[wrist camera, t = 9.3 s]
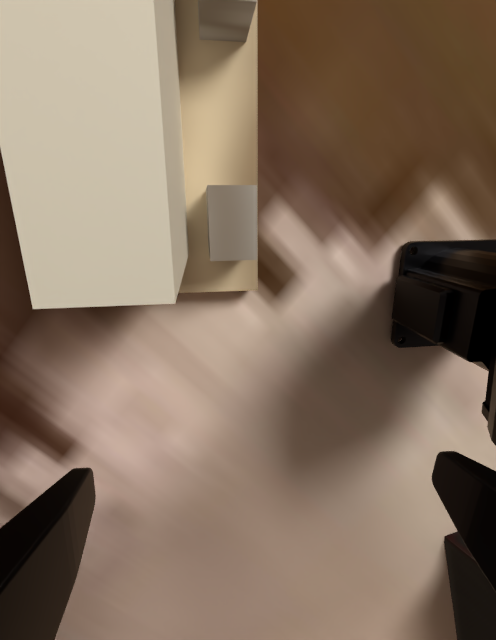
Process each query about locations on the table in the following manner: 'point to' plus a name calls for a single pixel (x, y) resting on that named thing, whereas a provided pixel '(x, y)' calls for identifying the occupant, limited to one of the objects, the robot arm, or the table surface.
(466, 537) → the robot arm
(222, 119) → the hinge clip plate
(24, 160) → the cabinet door panel
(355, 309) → the table surface
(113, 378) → the table surface
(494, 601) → the barrier
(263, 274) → the table surface
